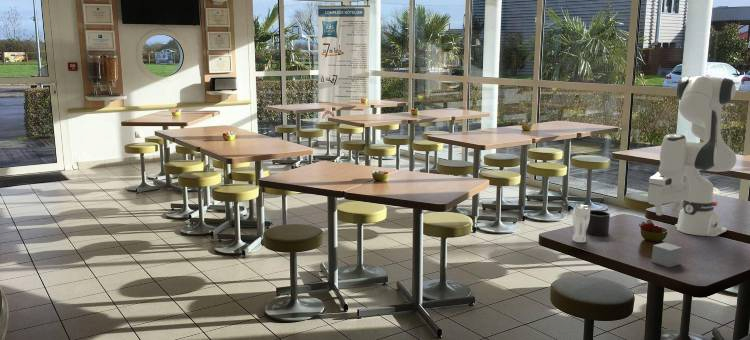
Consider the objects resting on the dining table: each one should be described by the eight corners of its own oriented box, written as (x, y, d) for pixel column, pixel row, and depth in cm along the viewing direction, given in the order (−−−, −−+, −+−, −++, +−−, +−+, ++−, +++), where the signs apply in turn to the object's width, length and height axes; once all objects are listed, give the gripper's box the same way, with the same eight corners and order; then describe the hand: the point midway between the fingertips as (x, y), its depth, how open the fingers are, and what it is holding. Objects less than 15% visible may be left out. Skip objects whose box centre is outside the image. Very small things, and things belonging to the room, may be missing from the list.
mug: (611, 230, 287) (612, 211, 285) (606, 237, 276) (607, 217, 275) (589, 227, 291) (591, 208, 289) (583, 234, 281) (585, 214, 279)
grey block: (663, 258, 249) (665, 242, 248) (680, 264, 243) (682, 247, 241) (651, 261, 245) (653, 245, 244) (668, 267, 239) (670, 250, 238)
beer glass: (589, 243, 267) (591, 209, 264) (571, 242, 268) (574, 208, 266) (587, 239, 274) (589, 205, 271) (570, 237, 275) (572, 204, 272)
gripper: (680, 173, 247) (676, 208, 249) (646, 178, 237) (642, 214, 239) (695, 176, 242) (691, 212, 244) (661, 181, 231) (657, 218, 234)
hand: (667, 213), depth 242 cm, fingers open, 8 cm apart
